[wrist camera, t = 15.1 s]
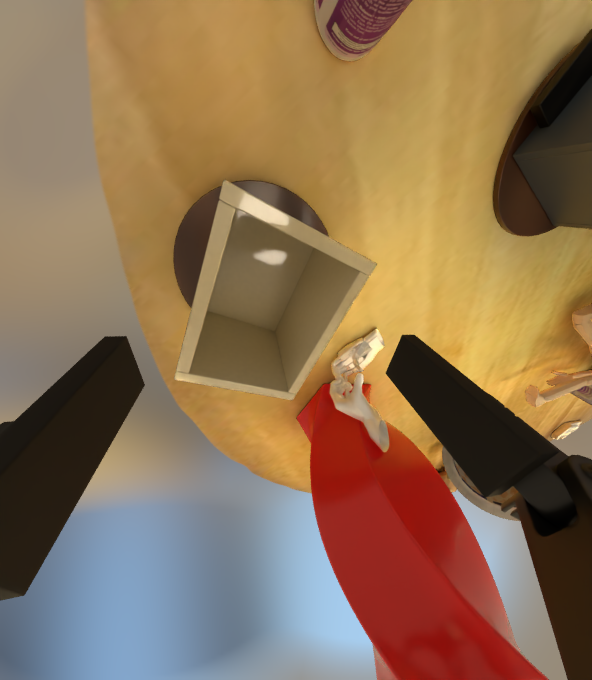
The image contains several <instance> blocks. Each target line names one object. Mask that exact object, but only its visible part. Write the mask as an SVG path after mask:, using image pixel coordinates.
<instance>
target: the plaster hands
mask: <svg viewBox="0 0 592 680" xmlns="http://www.w3.org/2000/svg"><path fill="white" fill-rule="evenodd" d="M364 340H365V341H364ZM381 341H382V342H381ZM357 345H358V346H357ZM355 346H357V347H355ZM384 346H385V345H384V341H383V338H382V336H381V334H380V332H379V331H378V329H377V328H376V329H375V330H373V331H372V332H371V333H370V334H368V335H367V336H366V337H364V338H359V339H357V340H356V341H354V342H352V343H349V344H348V345H346V346H345V347H344V348H343V349H341V350H340V351H339V352H338V353H337V354H338V355H339V356H338V357H337V358H336V359H335V360H334V361H333V362H332V363H331V365H332V372H333V375H335V379H336V380H334V381H332V382H331V384H330V395H331V397H332V399H333V402H334V405H335V408H336V409H337V410H339V411H341V412H343V413H345V414H347V415H349V416H351V417H353V418H355V419H358V420H360V421H362V422H363V423H364V425H365V427H366V429H367V431H368V433H369V436H370V438H371V439H372V440H373V441H374V442H375V443H376V444H377V445H378V447H379V448H380V449H381V450H382V451H383V452H386V451H387V450H388V448H389V436H388V430H387V426H386V423H385V421H384V420H383V418H382V417H381V415H380V413H379V411H378V410H377V409H376V408H375V407H374V406H373V405H371V404H369V402H368V401H367V399H366V397H365V396H364V395H363V394H362V384H363V382H364V375H363V374H362V373H358V374H357V375H356V377H355V379H354V387H353V386H352V385H351V383H350V382H348V376H349V375H351V374H353V373H354V372H355V373H356V372H358V371H359V372H362V371H364V370H363V368H365V367H366V366H367V365H369V364H370V363H371V361H372V360H373V359H374V357H375V356H376V354H377V353H378V352H379V351H380V350H381V349H383V348H384ZM352 349H353V350H352ZM341 374H343V377H342V376H341ZM352 388H353V390H352ZM344 390H345V392H344ZM351 390H352V392H351V393H350V392H349V391H351ZM343 393H344V395H343Z"/></svg>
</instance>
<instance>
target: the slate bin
mask: <svg viewBox="0 0 592 680" xmlns="http://www.w3.org/2000/svg"><path fill="white" fill-rule="evenodd" d="M530 110H531V112H532V114H533V116H534V118H535V120H536V122H537V126H536V127H535V128H534V130H533V131H532V132H531V133H530V134H529V136H528V137H527V138H526V139H525V141H524V142H523V143H522V144H521V146H520V147H519V148H518V149H517V151H516V152H515V153H514V154H513V157H514V159H515V161H516V162H517V164H518V166H519V167H520V169H521V171H522V173H523V174H524V176H525V178H526V179H527V181H528V183H529V185H530V186H531V188H532V190H533V191H534V193H535V195H536V197H537V198H538V200H539V202H540V203H541V205H542V207H543V209H544V210H545V212H546V214H547V215H548V217H549V219H550V221H551V222H552V224H553V226H564V227H576V228H589V229H592V29H591V30H590V31H589V32H588V34H587V35H586V36H585V37H584V39H583V40H582V41H581V43H580V44H579V45H578V46H577V48H576V49H575V50H574V52H573V53H572V54H571V55H570V57H569V58H568V59H567V61H566V62H565V63H564V64H563V66H562V67H561V68H560V70H559V71H558V72H557V73H556V75H555V76H554V77H553V79H552V80H551V81H550V83H549V84H548V85H547V86H546V88H545V89H544V90H543V92H542V93H541V94H540V95H539V97H538V98H537V99H536V101H535V102H534V103H533V104H532V106H531V107H530Z"/></svg>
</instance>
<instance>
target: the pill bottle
mask: <svg viewBox="0 0 592 680" xmlns="http://www.w3.org/2000/svg"><path fill="white" fill-rule="evenodd" d="M411 1H412V0H314V9H315V17H316V22H317V25H318V29H319V32H320V35H321V37H322V40H323V41H324V43H325V45H326V46H327V47H328V49H329V50H330V52H331V53H332V54H333V55H334V56H336V57H337V58H339V59H341V60H345V61H356V60H359V59H361V58H363V57H364V56H365V55H367V54H368V53H369V52H370V51H371V50H372V49H373V48H374V47H375V45H376V44H377V43H378V42H379V41H380V40H381V38H382V37H383V36H384V35H385V34H386V32H387V31H388V30H389V29H390V28H391V26H392V25H393V24H394V23H395V21H396V20H397V19H398V18H399V16H400V15H401V14H402V12H403V11H404V10H405V9H406V7H407V6H408V5H409V4H410V3H411Z"/></svg>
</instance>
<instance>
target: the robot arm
mask: <svg viewBox="0 0 592 680" xmlns="http://www.w3.org/2000/svg"><path fill="white" fill-rule="evenodd" d="M386 374H387V376H388V377H389V378H390V379H391V381H392V382H393V383H394V384H395V386H396V387H397V388H398V389H399V391H400V392H401V393H402V395H403V396H404V397H405V398H406V400H407V401H408V402H409V403H410V405H411V406H412V407H413V408H414V410H415V411H416V412H417V413H418V415H419V416H420V417H421V418H422V420H423V421H424V422H425V423H426V425H427V426H428V427H429V428H430V430H431V431H432V432H433V434H434V435H435V436H436V437H437V439H438V440H439V441H440V442H441V444H442V445H443V446H444V447H445V449H446V450H447V451H448V452H449V454H450V455H451V456H452V457H453V459H454V460H455V461H456V462H457V464H458V465H459V466H460V467H461V469H462V470H463V471H464V473H465V474H466V475H467V476H468V478H469V479H470V480H471V481H472V483H473V484H474V485H475V486H476V488H477V489H478V490H479V491H480V493H481V494H482V495H483V496H484V498H487V497H492V496H497V495H501V494H503V493H504V492H505V491H507V490H508V489H510V488H511V487H512V486H513V487H514V488H515V489H516V490H517V491H518V492H517V493H516V494H515V495H513V496H512V497H510V498H509V499H507V500H506V501H505V502H503V503H502V505H501V511H503V512H507V511H508V510H510V509H511V508H513V507H514V506H516V509H515V510H513V511H512V512H511V514H510V516H512V517H514V518H516V519H518V520H520V521H521V524H522V528H523V531H524V534H525V538H526V541H527V544H528V548H529V551H530V554H531V558H532V561H533V565H534V568H535V571H536V575H537V578H538V581H539V585H540V588H541V591H542V595H543V598H544V601H545V605H546V608H547V611H548V615H549V618H550V621H551V625H552V628H553V632H554V635H555V638H556V642H557V645H558V648H559V652H560V655H561V659H562V662H563V665H564V668H565V672H566V675H567V679H568V680H592V460H591V459H589V458H586V457H583V456H580V455H571V456H567V455H566V454H564V453H563V452H562V451H560V450H559V449H558V448H556V447H555V446H554V445H553V444H551V443H550V442H549V441H548V440H547V439H545V438H544V437H543V436H542V435H540V434H539V433H538V432H537V431H535V430H534V429H533V428H532V427H530V426H529V425H528V424H527V423H525V422H524V421H523V420H522V419H520V418H519V417H516V416H515V414H514V413H513V412H512V411H510V410H509V409H508V408H505V407H504V405H503V404H501V403H500V402H499V401H498V400H496V399H495V398H494V397H493V396H491V395H490V394H488V393H486V392H485V391H483V390H482V389H481V388H480V387H478V386H477V385H476V384H475V383H473V382H472V381H471V380H470V379H468V378H467V377H466V376H465V375H464V374H462V373H461V372H460V371H459V370H457V369H456V368H455V367H454V366H452V365H451V364H450V363H449V362H447V361H446V360H445V359H444V358H442V357H441V356H440V355H439V354H437V353H436V352H435V351H434V350H433V349H431V348H430V347H429V346H428V345H426V344H425V343H424V342H423V341H421V340H420V339H419V338H418V337H416V336H415V335H402V337H401V339H400V341H399V344H398V346H397V348H396V351H395V353H394V355H393V357H392V360H391V362H390V364H389V367H388V369H387V371H386ZM144 385H145V384H144V382H143V379H142V376H141V374H140V371H139V368H138V366H137V363H136V360H135V358H134V355H133V353H132V350H131V347H130V344H129V342H128V339H127V337H126V336H124V337H123V336H121V337H120V336H118V337H117V336H115V337H104V338H103V339H102V340H101V341H100V342H99V343H98V344H97V345H95V346H94V347H93V348H92V349H91V350H90V351H89V352H88V353H87V354H86V355H85V356H84V357H83V358H81V359H80V360H79V361H78V362H77V363H76V364H75V365H74V366H73V367H72V368H71V369H70V370H69V371H68V372H66V373H65V374H64V375H63V376H62V377H61V378H60V379H59V380H58V381H57V382H56V383H55V384H54V385H53V386H51V387H50V389H48V390H47V391H46V392H45V393H44V394H43V395H42V396H41V397H40V398H39V399H38V400H37V401H35V402H34V403H33V404H32V405H31V406H30V407H29V408H28V409H27V410H26V411H25V412H24V413H22V414H21V415H20V416H19V417H18V418H17V419H16V420H15V421H12V422H4V423H2V424H0V600H5V599H10V598H14V597H19V596H24V595H25V594H26V592H27V590H28V588H29V587H30V585H31V583H32V581H33V579H34V578H35V576H36V574H37V573H38V571H39V569H40V567H41V566H42V564H43V562H44V560H45V558H46V557H47V555H48V553H49V552H50V550H51V548H52V546H53V544H54V543H55V541H56V539H57V537H58V536H59V534H60V532H61V531H62V529H63V527H64V525H65V523H66V522H67V520H68V518H69V517H70V514H71V513H72V511H73V510H74V508H75V506H76V504H77V503H78V501H79V499H80V497H81V496H82V494H83V492H84V490H85V489H86V487H87V485H88V483H89V482H90V480H91V478H92V476H93V475H94V473H95V471H96V469H97V468H98V466H99V464H100V462H101V461H102V459H103V457H104V455H105V453H106V452H107V450H108V448H109V447H110V445H111V443H112V441H113V440H114V438H115V436H116V434H117V433H118V431H119V429H120V427H121V426H122V424H123V422H124V420H125V418H126V417H127V415H128V413H129V412H130V410H131V408H132V406H133V405H134V403H135V401H136V399H137V398H138V396H139V394H140V392H141V391H142V389H143V387H144Z"/></svg>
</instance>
